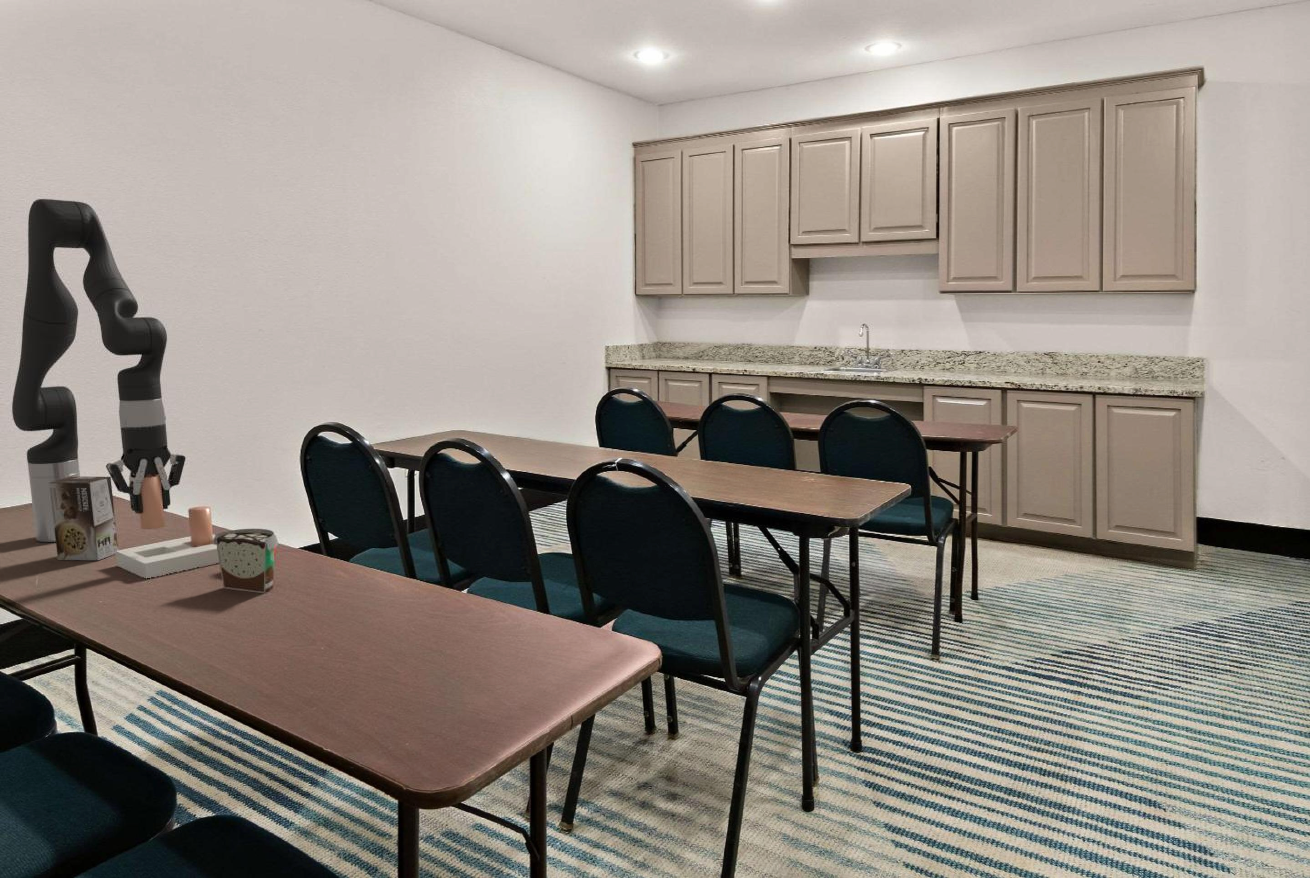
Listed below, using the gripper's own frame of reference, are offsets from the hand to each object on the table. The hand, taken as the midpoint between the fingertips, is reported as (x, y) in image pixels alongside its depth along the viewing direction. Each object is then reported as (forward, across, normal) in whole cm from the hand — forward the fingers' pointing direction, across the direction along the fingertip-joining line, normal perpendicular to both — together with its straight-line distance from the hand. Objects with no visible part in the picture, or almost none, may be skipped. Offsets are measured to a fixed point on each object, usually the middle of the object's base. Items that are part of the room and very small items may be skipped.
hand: (151, 510), depth 172 cm
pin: (+3, 0, 0) cm, 3 cm away
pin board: (+11, -4, 0) cm, 12 cm away
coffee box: (+11, +6, -19) cm, 23 cm away
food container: (+12, -6, +27) cm, 30 cm away
